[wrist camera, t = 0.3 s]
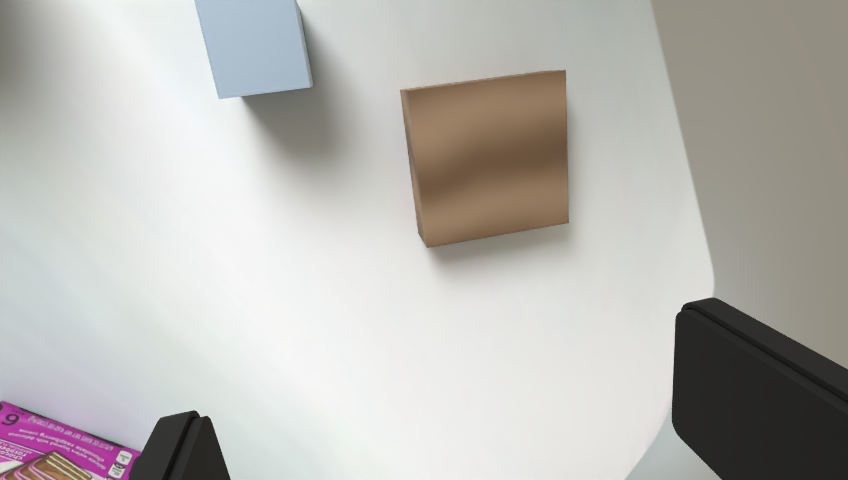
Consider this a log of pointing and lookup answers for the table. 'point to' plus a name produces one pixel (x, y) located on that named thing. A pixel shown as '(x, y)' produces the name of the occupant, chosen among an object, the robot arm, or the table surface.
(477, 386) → the table surface
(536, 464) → the table surface
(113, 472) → the candy bar box
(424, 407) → the table surface
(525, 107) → the walnut block
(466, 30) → the table surface
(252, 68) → the slate block
